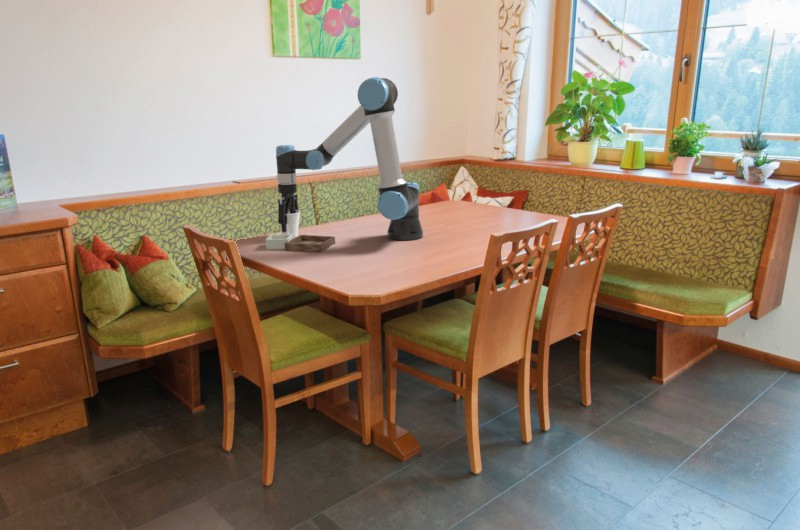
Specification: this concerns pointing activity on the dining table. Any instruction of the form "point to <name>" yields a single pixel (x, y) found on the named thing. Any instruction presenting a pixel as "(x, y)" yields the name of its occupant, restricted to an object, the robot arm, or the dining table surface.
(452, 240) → the dining table surface
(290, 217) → the cup
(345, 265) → the dining table surface
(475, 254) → the dining table surface
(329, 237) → the brown square tray
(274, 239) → the small crate
